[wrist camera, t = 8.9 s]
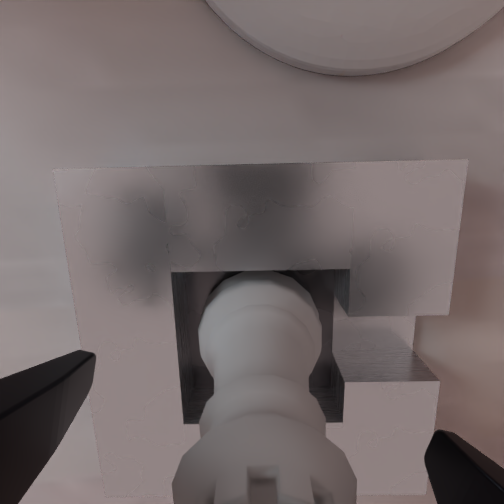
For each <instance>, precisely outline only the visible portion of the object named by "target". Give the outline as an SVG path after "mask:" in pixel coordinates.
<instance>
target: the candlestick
mask: <svg viewBox="0 0 504 504" xmlns="http://www.w3.org/2000/svg"><path fill="white" fill-rule="evenodd" d="M205 1H206V2H207V3H208V5H209V6H210V7H211V8H212V9H213V11H214V12H215V13H216V14H217V15H218V16H219V17H220V18H221V19H222V20H223V21H224V22H225V23H226V24H227V25H228V26H229V27H230V28H231V29H232V30H233V31H234V32H236V33H237V34H238V35H239V36H240V37H242V38H243V39H244V40H246V41H247V42H248V43H250V44H251V45H253V46H254V47H256V48H257V49H259V50H260V51H262V52H264V53H266V54H267V55H269V56H271V57H273V58H275V59H277V60H279V61H282V62H284V63H286V64H289V65H292V66H294V67H297V68H300V69H304V70H307V71H312V72H316V73H321V74H328V75H339V76H363V75H373V74H379V73H385V72H390V71H394V70H398V69H401V68H404V67H408V66H411V65H413V64H416V63H419V62H421V61H423V60H426V59H428V58H430V57H432V56H434V55H436V54H438V53H440V52H442V51H444V50H446V49H447V48H449V47H451V46H452V45H454V44H455V43H457V42H459V41H460V40H462V39H463V38H465V37H466V36H468V35H469V34H471V33H472V32H474V31H475V30H476V29H478V28H479V27H481V26H482V25H483V24H484V23H486V22H487V21H488V20H489V19H491V18H492V17H493V16H494V15H495V14H497V13H498V12H499V11H500V10H501V9H502V8H503V7H504V0H205Z"/></svg>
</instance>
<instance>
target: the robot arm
mask: <svg viewBox="0 0 504 504" xmlns="http://www.w3.org/2000/svg"><path fill="white" fill-rule="evenodd" d="M95 364H96V355H95V353H93V352H88V351H84V350H77V351H74V352H72V353H69V354H66V355H64V356H61V357H58V358H56V359H53V360H50V361H47V362H45V363H42V364H39V365H37V366H34V367H31V368H29V369H26V370H23V371H20V372H18V373H15V374H12V375H10V376H7V377H4V378H2V379H0V504H18V503H19V502H20V500H21V499H22V497H23V496H24V495H25V493H26V492H27V490H28V489H29V487H30V486H31V485H32V483H33V482H34V480H35V479H36V478H37V476H38V475H39V473H40V472H41V471H42V469H43V468H44V466H45V465H46V464H47V462H48V461H49V459H50V458H51V456H52V455H53V453H54V452H55V450H56V449H57V447H58V445H59V444H60V442H61V440H62V439H63V437H64V435H65V433H66V432H67V430H68V428H69V426H70V425H71V423H72V421H73V419H74V418H75V416H76V414H77V412H78V411H79V409H80V407H81V405H82V404H83V402H84V400H85V398H86V397H87V395H88V393H89V391H90V389H91V386H92V383H93V378H94V371H95ZM424 463H425V467H426V470H427V473H428V476H429V479H430V482H431V485H432V489H433V492H434V495H435V498H436V501H437V504H504V469H503V468H502V467H500V466H499V465H498V464H496V463H495V462H494V461H492V460H491V459H489V458H488V457H487V456H485V455H484V454H483V453H481V452H480V451H478V450H477V449H476V448H474V447H473V446H472V445H470V444H469V443H467V442H466V441H465V440H463V439H462V438H461V437H459V436H458V435H456V434H455V433H453V432H449V431H444V430H436V431H435V432H434V434H433V436H432V438H431V440H430V443H429V445H428V447H427V449H426V452H425V455H424Z"/></svg>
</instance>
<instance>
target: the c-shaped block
mask: <svg viewBox="0 0 504 504" xmlns="http://www.w3.org/2000/svg"><path fill="white" fill-rule="evenodd" d="M468 161H469V159H451V160H410V161H368V162H326V163H284V164H243V165H201V166H159V167H117V168H76V169H53V176H54V182H55V188H56V194H57V200H58V207H59V213H60V219H61V225H62V232H63V238H64V244H65V250H66V256H67V263H68V269H69V275H70V281H71V288H72V294H73V300H74V306H75V313H76V319H77V325H78V331H79V337H80V344H81V350H84V351H88V352H93V353H95V355H96V364H95V371H94V378H93V383H92V386H91V389H90V391H89V400H90V406H91V412H92V418H93V425H94V431H95V437H96V443H97V449H98V456H99V462H100V468H101V474H102V481H103V487H104V493H105V497H173V493H172V482H173V479H174V476H175V474H176V471H177V469H178V466H179V463H180V461H181V458H182V456H183V455H184V454H185V453H186V452H187V451H188V450H189V449H190V448H191V447H192V446H193V445H194V444H195V443H197V442H198V441H199V440H200V439H201V438H200V428H199V421H200V418H201V416H202V413H203V410H204V408H205V405H206V403H207V401H208V400H209V399H210V398H211V397H212V396H213V395H214V378H213V377H212V376H211V374H210V372H209V370H208V368H207V367H206V365H205V363H204V361H203V359H202V358H201V354H200V347H199V335H198V328H199V325H200V317H201V314H202V311H203V309H204V306H205V303H206V300H207V297H208V296H209V295H210V294H211V293H212V292H213V291H214V290H215V289H216V288H217V287H218V286H219V285H220V284H221V282H222V281H223V280H226V279H228V278H230V277H232V276H235V275H237V274H239V273H241V272H244V271H264V270H272V271H274V272H277V273H280V274H283V275H286V276H288V277H291V278H293V279H294V280H295V281H296V282H298V283H299V284H300V285H301V286H302V287H303V288H304V289H305V290H306V291H307V292H309V293H310V295H311V297H312V300H313V302H314V304H315V306H316V309H317V311H318V313H319V320H320V322H321V325H322V348H321V353H320V355H319V358H318V360H317V362H316V364H315V366H314V368H313V371H312V373H311V374H310V375H309V392H310V394H311V395H313V396H314V397H315V398H316V399H317V401H318V403H319V405H320V407H321V410H322V412H323V414H324V416H325V418H326V438H328V439H329V440H330V441H331V442H332V443H334V444H335V445H336V446H337V447H339V448H340V449H341V450H342V451H343V452H344V453H345V455H346V458H347V460H348V462H349V464H350V466H351V468H352V470H353V472H354V474H355V476H356V478H357V495H426V490H427V482H428V473H427V470H426V467H425V463H424V455H425V452H426V449H427V447H428V445H429V443H430V440H431V438H432V436H433V434H434V427H435V419H436V411H437V404H438V396H439V388H440V380H439V379H438V378H437V377H436V376H435V375H434V373H433V372H432V371H431V370H430V369H429V368H428V367H427V366H426V365H425V363H424V362H423V361H422V360H421V359H420V358H419V357H418V356H417V354H416V353H415V352H414V351H413V350H412V349H413V340H414V330H415V320H416V316H425V315H449V310H450V302H451V294H452V286H453V278H454V270H455V262H456V255H457V247H458V239H459V231H460V223H461V215H462V208H463V200H464V192H465V184H466V176H467V168H468Z"/></svg>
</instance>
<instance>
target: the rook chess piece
mask: <svg viewBox="0 0 504 504" xmlns="http://www.w3.org/2000/svg"><path fill="white" fill-rule="evenodd" d="M198 335H199V347H200V354H201V358H202V359H203V361H204V363H205V365H206V367H207V368H208V370H209V372H210V374H211V376H212V377H213V378H214V395H213V396H212V397H211V398H210V399H209V400H208V401H207V403H206V405H205V408H204V410H203V413H202V416H201V418H200V421H199V428H200V438H201V439H200V440H199V441H198V442H197V443H195V444H194V445H193V446H192V447H191V448H190V449H189V450H188V451H187V452H186V453H185V454H184V455H183V456H182V458H181V461H180V463H179V466H178V469H177V471H176V474H175V476H174V479H173V482H172V493H173V501H174V504H356V496H357V478H356V476H355V474H354V472H353V470H352V468H351V466H350V464H349V462H348V460H347V458H346V455H345V453H344V452H343V451H342V450H341V449H340V448H339V447H337V446H336V445H335V444H334V443H332V442H331V441H330V440H329V439H328V438H326V418H325V416H324V414H323V412H322V410H321V407H320V405H319V403H318V401H317V399H316V398H315V397H314V396H313V395H311V394H310V392H309V375H310V374H311V373H312V371H313V368H314V366H315V364H316V362H317V360H318V358H319V355H320V353H321V348H322V325H321V322H320V320H319V313H318V311H317V309H316V306H315V304H314V302H313V300H312V297H311V295H310V293H309V292H307V291H306V290H305V289H304V288H303V287H302V286H301V285H300V284H299V283H298V282H296V281H295V280H294V279H293V278H291V277H288V276H286V275H283V274H280V273H277V272H274V271H272V270H264V271H244V272H241V273H239V274H237V275H235V276H232V277H230V278H228V279H226V280H223V281H222V282H221V284H220V285H219V286H218V287H217V288H216V289H215V290H214V291H213V292H212V293H211V294H210V295H209V296H208V297H207V300H206V303H205V306H204V309H203V311H202V314H201V317H200V325H199V328H198Z"/></svg>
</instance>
